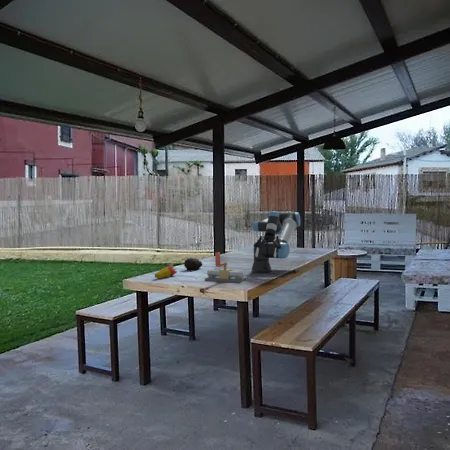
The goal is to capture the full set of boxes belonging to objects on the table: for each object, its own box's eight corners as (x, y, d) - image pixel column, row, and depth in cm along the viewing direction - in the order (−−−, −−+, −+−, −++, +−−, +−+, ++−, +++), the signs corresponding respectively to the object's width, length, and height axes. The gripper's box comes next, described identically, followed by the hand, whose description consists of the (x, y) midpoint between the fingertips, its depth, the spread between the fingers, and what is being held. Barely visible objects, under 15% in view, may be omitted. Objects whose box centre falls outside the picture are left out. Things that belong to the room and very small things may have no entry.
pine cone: (204, 268, 395) (203, 256, 395) (193, 271, 379) (193, 258, 379) (192, 267, 400) (192, 255, 399) (181, 270, 384) (181, 258, 383)
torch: (155, 285, 344) (173, 275, 366) (163, 280, 340) (181, 270, 362) (149, 274, 344) (168, 265, 366) (157, 270, 341) (175, 261, 363)
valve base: (212, 278, 347) (211, 263, 347) (246, 280, 337) (245, 264, 336) (204, 280, 336) (204, 265, 336) (239, 282, 326) (239, 267, 325)
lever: (224, 264, 338) (223, 250, 338) (228, 264, 337) (228, 250, 336) (214, 267, 324) (214, 252, 324) (219, 267, 323) (218, 253, 322)
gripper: (253, 227, 355) (247, 253, 344) (286, 228, 344) (281, 254, 334) (256, 233, 360) (250, 258, 350) (288, 233, 350) (283, 259, 340)
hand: (265, 256), depth 342 cm, fingers open, 13 cm apart
